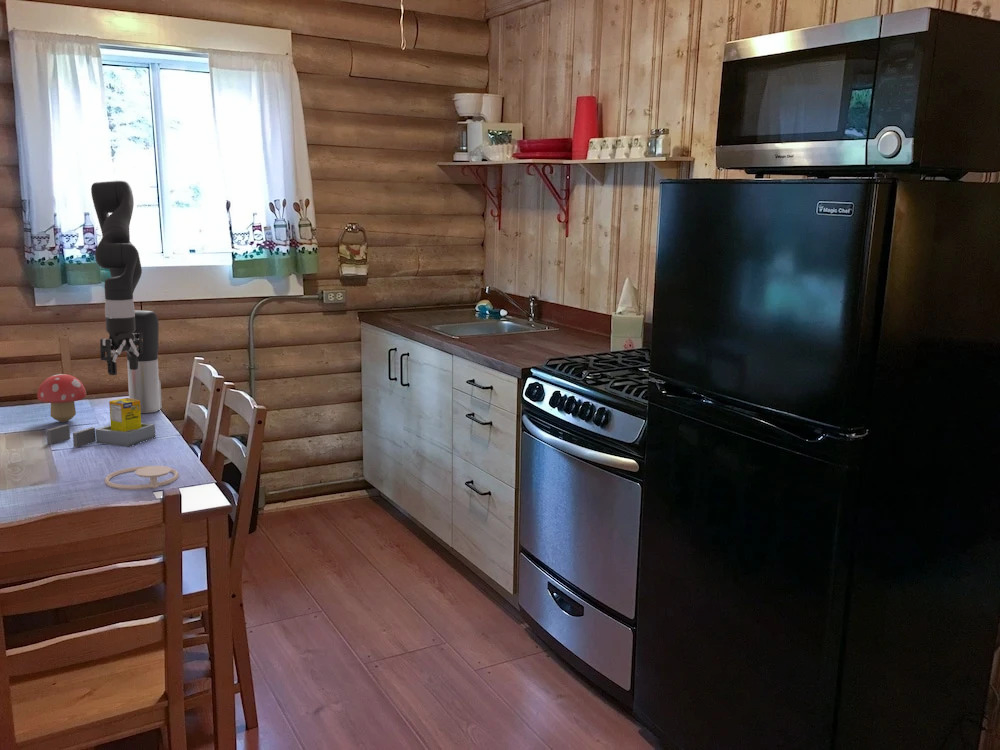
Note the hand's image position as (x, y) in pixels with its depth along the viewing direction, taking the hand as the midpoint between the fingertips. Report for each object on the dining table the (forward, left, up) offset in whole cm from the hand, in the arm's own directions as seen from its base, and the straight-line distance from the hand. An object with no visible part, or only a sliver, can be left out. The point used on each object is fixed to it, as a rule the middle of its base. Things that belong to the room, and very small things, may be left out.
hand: (123, 372), depth 233 cm
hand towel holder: (+29, +29, -21) cm, 46 cm away
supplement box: (0, 0, -19) cm, 19 cm away
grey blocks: (+8, -12, -20) cm, 25 cm away
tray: (0, 0, -20) cm, 20 cm away
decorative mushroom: (-10, -32, -20) cm, 39 cm away
